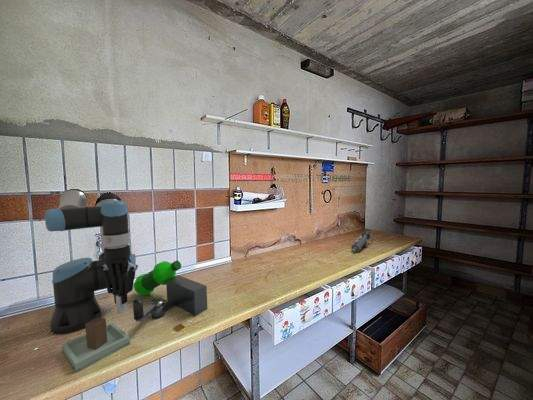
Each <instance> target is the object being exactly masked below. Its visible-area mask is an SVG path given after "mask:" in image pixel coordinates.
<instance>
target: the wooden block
mask: <svg viewBox="0 0 533 400" xmlns="http://www.w3.org/2000/svg"><path fill="white" fill-rule="evenodd" d="M106 325H107V319H106V318H104V317H96V318H94V319H93V320H91V321H89V322H87V323H86V324H85V328H84V329H85V334H86V340H87V347H88V348H92V349H97V348H99V347H100V346H102V345H103V344H105V343H106V342H107V329H106Z"/></svg>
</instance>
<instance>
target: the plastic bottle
mask: <svg viewBox="0 0 533 400" xmlns="http://www.w3.org/2000/svg"><path fill="white" fill-rule="evenodd" d="M181 268H182V264H181V262H180V261H179V260H175V261H173V262H169V261H166V260H163V261H161V262H157V264H155V265H154V267H153V269H152V270H151V271H149V272H147V273H143V274H141V275H139V276H137V277H135V279H134V283H133V289H134V291H135V292H136V293H137V294H138V295H141V296H148V295H149V294H151V293H152V292H154V290H155V288H157V287H159V286H161V285H162V286H166V280H167V279H170V278H172V277H175V276H177V271H179V270H181Z"/></svg>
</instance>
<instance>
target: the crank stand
mask: <svg viewBox="0 0 533 400" xmlns="http://www.w3.org/2000/svg"><path fill="white" fill-rule="evenodd" d="M165 286H166V302H165V301H164V305H163V306H161V307H159V308H156V309H155V310H154V311H153V312H152V313H151V314H150V318H151V319H152V320H157V319H161V318H163V317H164V316H165V314H166V313H165V312H167V311H169V310H171V309H173V308H175V307H176V308H179V309H181V310H182V311H184V312H186V313H188V314H191V315H192V316H194V317H196V316H198V315H201V314H202V313H203V312H206V311H207V310H208V291H207V290H208V289H207V285H206V284H203V283H200V282H197V281H195V280H192V279H189V278H188V277H185V276H184V277H183V276H182V275H175V277H172V278H170V279H167V280H166V285H165ZM185 328H186V325H183V324H182V323H179V324H177V325H176V326H174V327H172V330H174V331H176V332H180V331H182V330H183V329H185Z"/></svg>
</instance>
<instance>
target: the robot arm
mask: <svg viewBox="0 0 533 400" xmlns="http://www.w3.org/2000/svg"><path fill="white" fill-rule="evenodd" d="M69 189H70V190H69ZM69 189H67V190H65V191H64V192H63V193H62V194H61V195H60V196H59V206H58V207H55V208H52V209H47V210H46V211H45V213H44V221H45V227H46V230H47V231H49V232H65V231H72V230H73V231H74V230H81V229H92V228H100V236H101V237H100V238H101V248H102V252H101V253H100V254H99V255H98V259H97V260H93V259H92V258H91V257H82V258H77V259H73V260H70V261H67V262H64V263H61V264H60V265H58V266H57V267H56V268H54V270H53V271H52V280H51V283H52V285H53V297H54V310H53V314H52V317H51V320H50V323H49V326H50V332H51V333H52V334H54V335H55V334H56V335H65V334H69V333H70V334H71V333H73V332H77V331H80V330H83V329H86V328H85V324H86V323H87V322H89V321H91V320H93V319H94V318H96V317H100V318H102V307H101V306H100V304H99V303H98V300H97V299H96V297H95V292H96V291H101V290H105V289H106V290H107V293H108V294H112V295H113V299H114V300H113V301H114V304H115V305H116V315H122V314H124V313H125V312H126V311H127V303H128V294H129V293H130V292H132V291H134V290H133V289H134V283H135V279H136V272H137V270H138V268H139V265H138V264H136V260H137V259H136V254H135V253H132V252H131V245H130V243H131V241H130V231H129V209H128V203H127V201H126V202H125V201H121V199H120V198H119V197H118V196H117V195H116V194H113V193H111V192H109V193H108V192H107V193H104V194H102V195H101V196H100V197H99V198H98V199H97V201H96V204H95V206H94V207H85V206H86V204H87V196H86V194H85V193H84V192H83V191H81V190H79V189H71V188H69Z"/></svg>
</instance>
